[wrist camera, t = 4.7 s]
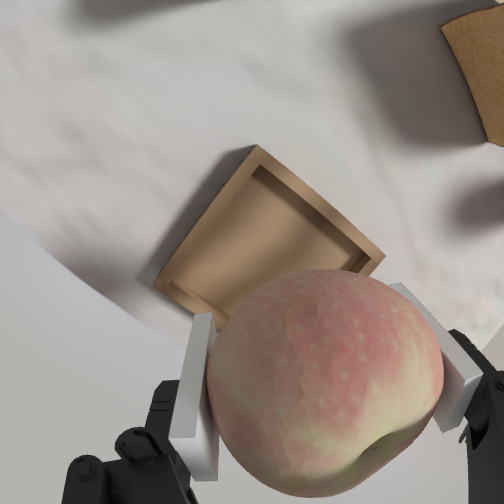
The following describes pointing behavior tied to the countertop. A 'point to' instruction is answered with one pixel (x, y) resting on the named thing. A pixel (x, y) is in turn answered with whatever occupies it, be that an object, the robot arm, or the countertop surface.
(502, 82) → the bread
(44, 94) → the countertop surface
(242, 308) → the apple
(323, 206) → the walnut tray
